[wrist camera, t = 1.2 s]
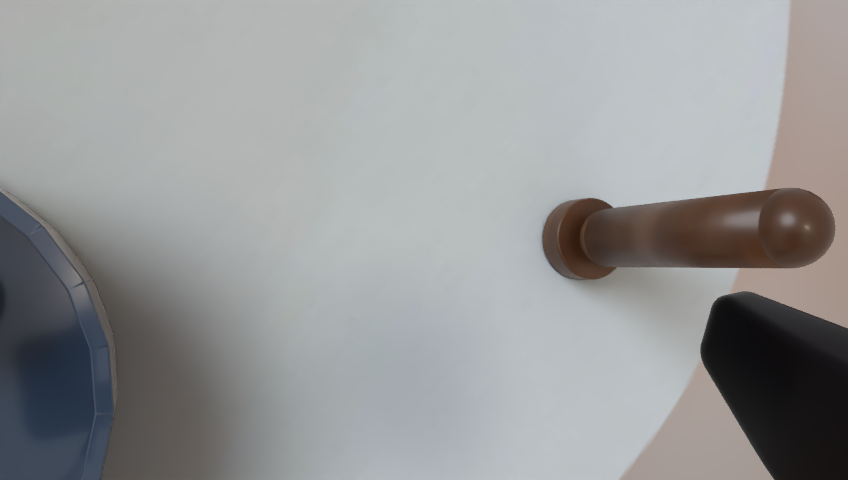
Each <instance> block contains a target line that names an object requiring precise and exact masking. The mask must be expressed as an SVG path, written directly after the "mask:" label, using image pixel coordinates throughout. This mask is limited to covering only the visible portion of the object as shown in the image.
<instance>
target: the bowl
mask: <svg viewBox="0 0 848 480" xmlns="http://www.w3.org/2000/svg"><path fill="white" fill-rule="evenodd" d="M117 391H118V388H117V375H116V357H115V348H114V335H113V331H112V329H111V326H110V323H109V321H108V318H107V314H106V311H105V308H104V305H103V302H102V300H101V298H100V296H99V294H98V291H97V289H96V286H95V283H94V281H93V280H92V277H91V276H90V275H89V273H88V272H87V271H86V269H85V268H84V266H83V265H82V263H81V262H80V260H79V259H78V257H77V255H76V254H75V253H74V252H73V251H72V249H71V248H70V247H69V246H68V245H67V244H66V242H65V241H64V240H63V238H62V237H61V235H60V234H59V233H58V232H57V231H56V230H55V229H54V228H53V227H52V226H50V225H49V224H48V223H47V222H45V221H44V220H43V219H42V218H40V217H39V216H38V215H37V214H36V213H35V212H33V211H32V210H31V209H29V208H28V207H26V206H25V205H24V204H23V203H21V202H20V201H19V200H18V199H16V198H15V197H14V196H12V195H11V194H10V193H9V192H7V191H5V190H4V189H2V188H0V480H101V477H102V472H103V467H104V463H105V458H106V453H107V448H108V443H109V438H110V433H111V428H112V423H113V419H114V413H115V406H116V399H117Z"/></svg>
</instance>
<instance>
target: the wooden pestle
mask: <svg viewBox="0 0 848 480" xmlns="http://www.w3.org/2000/svg"><path fill="white" fill-rule="evenodd" d="M834 235H835V221H834V217H833V214H832V212H831V210H830V208H829V207H828V205H827V204H826V203H825V202H824V201H823V200H822V199H821V198H820V197H818V196H817V195H815V194H813V193H812V192H810V191H806V190H803V189H799V188H783V189H774V190H765V191H756V192H748V193H739V194H731V195H722V196H713V197H705V198H696V199H687V200H679V201H670V202H662V203H653V204H644V205H636V206H627V207H618V208H613V207H612V206H611V205H609V204H608V203H606V202H604V201H602V200H599V199H595V198H586V199H579V200H572V201H568V202H565V203H563V204H561V205H559V206H558V207H557V208H556V209H555V210H554V211H553V212H552V213H551V214H550V216H549V217H548V219H547V221H546V224H545V227H544V231H543V247H544V251H545V254H546V257H547V259H548V261H549V262H550V264H551V265H552V266H553V268H554V269H555V270H556V271H558V272H559V273H560V274H562V275H564V276H566V277H568V278H572V279H599V278H602V277H605V276H607V275H608V274H610V273H611V272H612V271H613V270H614V269H616V267H690V268H798V267H803V266H806V265H809V264H811V263H813V262H815V261H817V260H818V259H819V258H821V257H822V256H823V255H824V254H825V253H826V252H827V250H828V249H829V247H830V246H831V243H832V242H833V239H834Z"/></svg>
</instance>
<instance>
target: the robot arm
mask: <svg viewBox="0 0 848 480" xmlns="http://www.w3.org/2000/svg"><path fill="white" fill-rule="evenodd" d="M701 358H702V361H703V364H704V366H705V368H706V370H707V371H708V373H709V375H710V376H711V378H712V380H713V381H714V383H715V385H716V386H717V388H718V389H719V391H720V393H721V395H722V396H723V398H724V400H725V401H726V403H727V405H728V406H729V408H730V409H731V411H732V413H733V415H734V416H735V418H736V419H737V421H738V423H739V425H740V426H741V428H742V430H743V431H744V433H745V434H746V436H747V438H748V439H749V441H750V443H751V445H752V446H753V448H754V449H755V451H756V453H757V454H758V456H759V457H760V459H761V461H762V462H763V464H764V465H765V467H766V468H767V470H768V471H769V473H770V474H771V476H772V477H773V478H774V480H848V328H845V327H842V326H840V325H837V324H834V323H832V322H829V321H827V320H824V319H821V318H819V317H816V316H813V315H811V314H808V313H805V312H803V311H800V310H797V309H795V308H792V307H789V306H787V305H784V304H781V303H779V302H776V301H773V300H771V299H768V298H766V297H763V296H760V295H758V294H755V293H752V292H738V293H734V294H729V295H725V296H721V297H719V298H717V300H716V301H715V302H714V303H713V305H712V308H711V311H710V315H709V318H708V322H707V325H706V329H705V332H704V336H703V339H702V343H701Z"/></svg>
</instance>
